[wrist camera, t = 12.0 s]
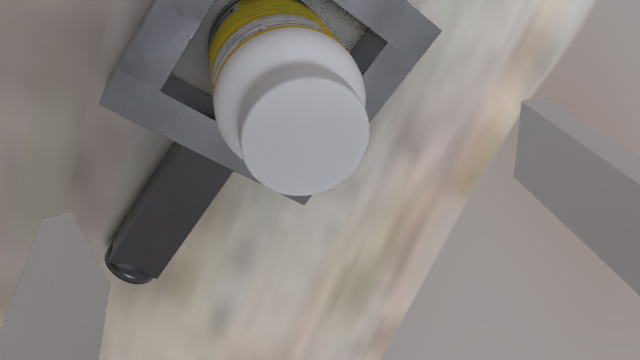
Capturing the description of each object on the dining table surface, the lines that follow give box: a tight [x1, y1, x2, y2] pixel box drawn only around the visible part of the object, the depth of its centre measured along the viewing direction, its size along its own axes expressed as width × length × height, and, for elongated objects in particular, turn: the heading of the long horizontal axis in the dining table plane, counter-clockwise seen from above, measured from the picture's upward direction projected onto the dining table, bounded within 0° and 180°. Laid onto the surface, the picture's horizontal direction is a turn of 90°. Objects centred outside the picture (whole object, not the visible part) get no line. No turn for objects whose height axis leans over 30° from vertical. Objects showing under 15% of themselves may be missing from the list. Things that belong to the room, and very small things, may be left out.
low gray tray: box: [99, 0, 442, 284], centre depth 27 cm, size 22×12×3 cm, turn 143°
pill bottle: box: [208, 0, 370, 196], centre depth 22 cm, size 6×6×11 cm
